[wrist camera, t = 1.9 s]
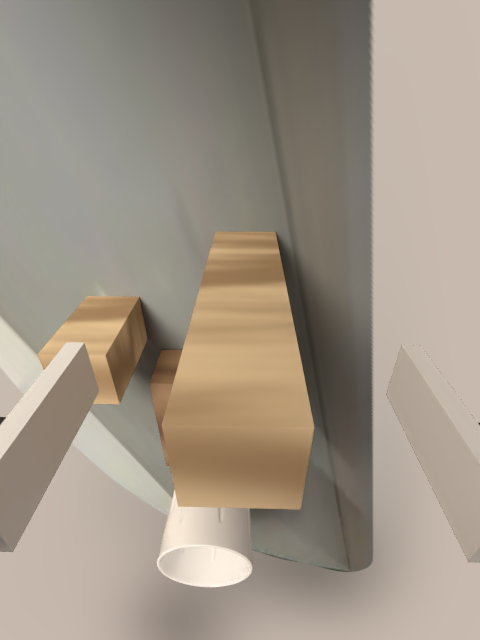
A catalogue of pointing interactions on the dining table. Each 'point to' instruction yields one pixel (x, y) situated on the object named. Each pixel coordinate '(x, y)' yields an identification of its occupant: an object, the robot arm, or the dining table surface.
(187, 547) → the white cup
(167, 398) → the walnut hole block
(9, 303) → the dining table surface
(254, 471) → the long oak peg
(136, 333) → the short oak peg
